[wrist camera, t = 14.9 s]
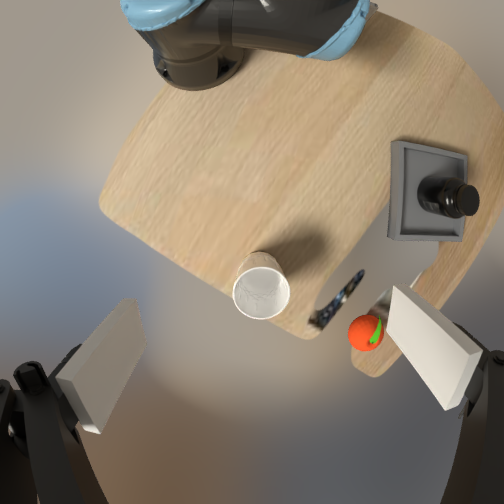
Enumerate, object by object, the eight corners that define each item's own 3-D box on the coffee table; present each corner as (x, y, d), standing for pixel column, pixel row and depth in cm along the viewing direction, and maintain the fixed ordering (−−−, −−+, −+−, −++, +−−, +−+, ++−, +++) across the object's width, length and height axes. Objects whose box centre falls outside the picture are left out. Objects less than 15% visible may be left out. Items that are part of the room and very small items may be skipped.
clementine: (355, 299, 50) (369, 317, 43) (383, 308, 50) (399, 325, 44) (337, 335, 52) (348, 355, 45) (365, 341, 52) (378, 361, 46)
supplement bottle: (444, 208, 44) (484, 219, 33) (418, 215, 45) (458, 228, 33) (439, 173, 43) (481, 176, 31) (412, 178, 43) (453, 182, 31)
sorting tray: (390, 142, 42) (398, 140, 39) (458, 155, 42) (467, 155, 39) (387, 236, 47) (394, 240, 44) (453, 238, 47) (461, 241, 44)
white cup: (247, 240, 47) (247, 257, 37) (290, 259, 48) (300, 280, 38) (228, 281, 49) (223, 306, 39) (270, 298, 49) (274, 326, 40)
